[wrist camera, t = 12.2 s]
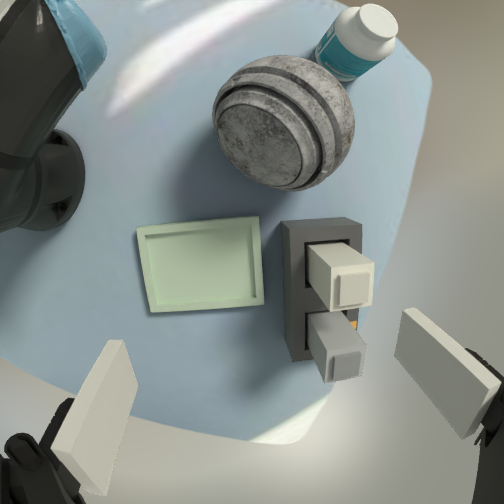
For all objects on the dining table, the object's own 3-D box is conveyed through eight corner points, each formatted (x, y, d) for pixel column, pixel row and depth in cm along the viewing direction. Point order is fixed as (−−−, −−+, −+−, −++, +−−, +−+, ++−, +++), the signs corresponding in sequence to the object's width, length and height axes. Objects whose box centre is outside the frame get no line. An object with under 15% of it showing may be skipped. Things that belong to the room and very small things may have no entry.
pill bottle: (367, 81, 35) (418, 52, 22) (321, 84, 35) (360, 48, 22) (353, 38, 33) (395, -2, 20) (307, 39, 33) (337, -9, 20)
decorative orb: (194, 131, 36) (173, 105, 21) (272, 60, 34) (294, 5, 19) (277, 209, 39) (304, 228, 24) (349, 136, 37) (408, 119, 22)
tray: (153, 308, 41) (150, 312, 40) (139, 226, 38) (136, 228, 37) (263, 300, 42) (264, 304, 40) (257, 215, 39) (258, 216, 37)
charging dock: (285, 339, 44) (306, 403, 30) (280, 221, 39) (308, 246, 25) (341, 331, 44) (378, 388, 30) (344, 217, 40) (398, 239, 26)
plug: (302, 332, 41) (326, 386, 29) (302, 304, 40) (328, 354, 28) (331, 328, 42) (363, 379, 29) (332, 300, 40) (368, 346, 28)
